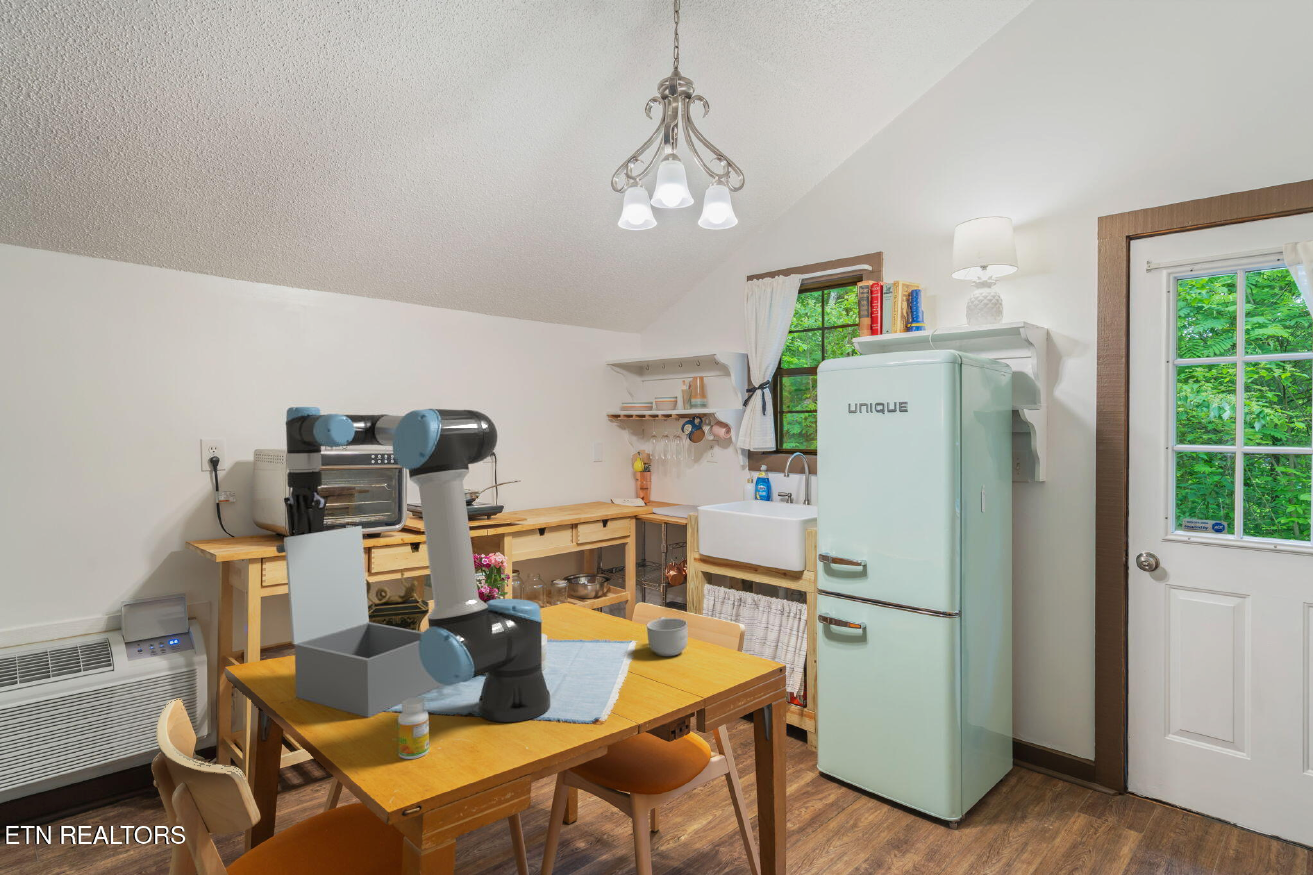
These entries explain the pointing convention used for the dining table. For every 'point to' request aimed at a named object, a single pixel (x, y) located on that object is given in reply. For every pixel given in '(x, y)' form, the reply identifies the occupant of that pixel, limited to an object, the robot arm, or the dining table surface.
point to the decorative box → (397, 607)
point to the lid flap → (325, 582)
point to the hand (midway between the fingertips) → (306, 567)
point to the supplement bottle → (413, 729)
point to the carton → (362, 669)
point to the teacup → (667, 636)
